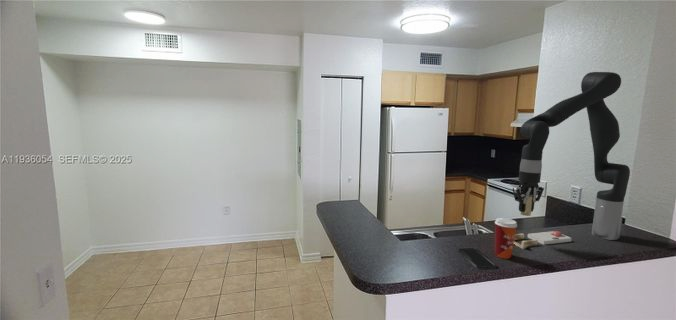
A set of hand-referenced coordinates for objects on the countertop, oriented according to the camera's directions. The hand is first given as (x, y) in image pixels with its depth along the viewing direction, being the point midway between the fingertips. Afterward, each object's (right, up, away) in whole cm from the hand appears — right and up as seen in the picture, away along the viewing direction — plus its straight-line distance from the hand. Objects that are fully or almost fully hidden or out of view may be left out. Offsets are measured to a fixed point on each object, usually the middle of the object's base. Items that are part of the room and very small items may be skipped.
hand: (526, 211), depth 129 cm
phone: (-26, -17, -11) cm, 33 cm away
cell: (0, -1, 0) cm, 1 cm away
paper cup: (-14, -16, -8) cm, 23 cm away
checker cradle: (+13, -14, +5) cm, 20 cm away
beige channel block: (0, -14, +2) cm, 14 cm away
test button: (+17, -14, +6) cm, 23 cm away
